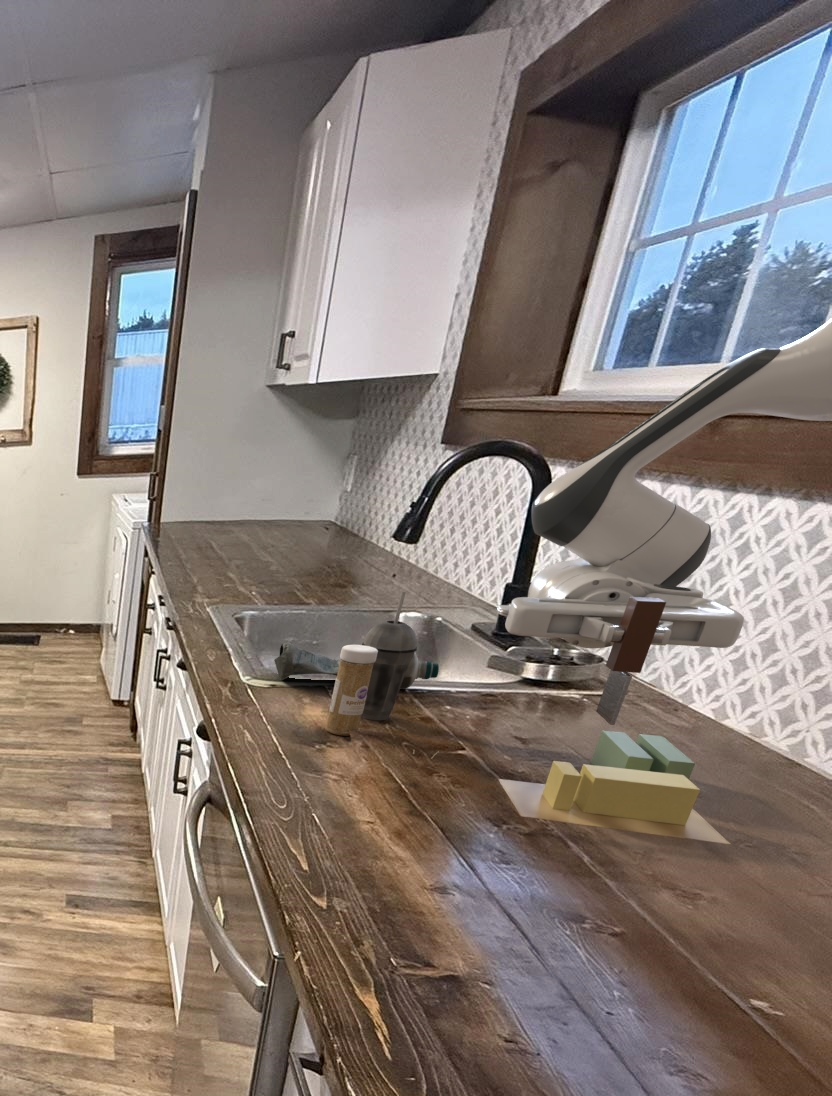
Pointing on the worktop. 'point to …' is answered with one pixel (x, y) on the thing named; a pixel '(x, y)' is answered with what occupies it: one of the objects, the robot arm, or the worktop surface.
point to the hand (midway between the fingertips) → (638, 636)
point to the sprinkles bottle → (350, 689)
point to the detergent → (311, 663)
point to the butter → (636, 794)
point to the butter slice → (561, 785)
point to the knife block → (640, 754)
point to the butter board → (536, 806)
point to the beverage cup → (388, 664)
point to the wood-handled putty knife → (629, 652)
